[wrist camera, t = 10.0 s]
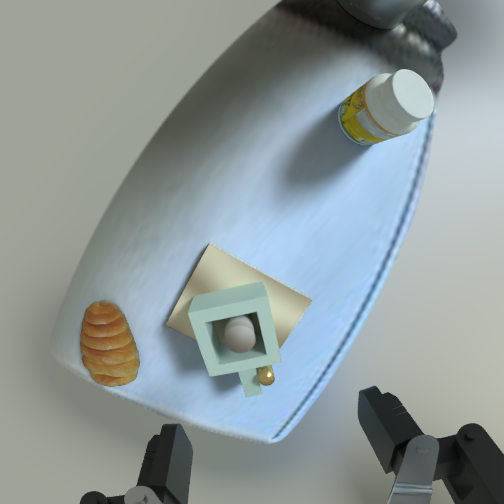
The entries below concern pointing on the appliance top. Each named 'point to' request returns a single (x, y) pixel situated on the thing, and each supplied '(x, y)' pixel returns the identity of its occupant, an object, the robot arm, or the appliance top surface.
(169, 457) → the robot arm
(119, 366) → the pastry
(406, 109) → the supplement bottle
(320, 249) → the appliance top surface
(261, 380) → the pin
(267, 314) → the pale green hollow block
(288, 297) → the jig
